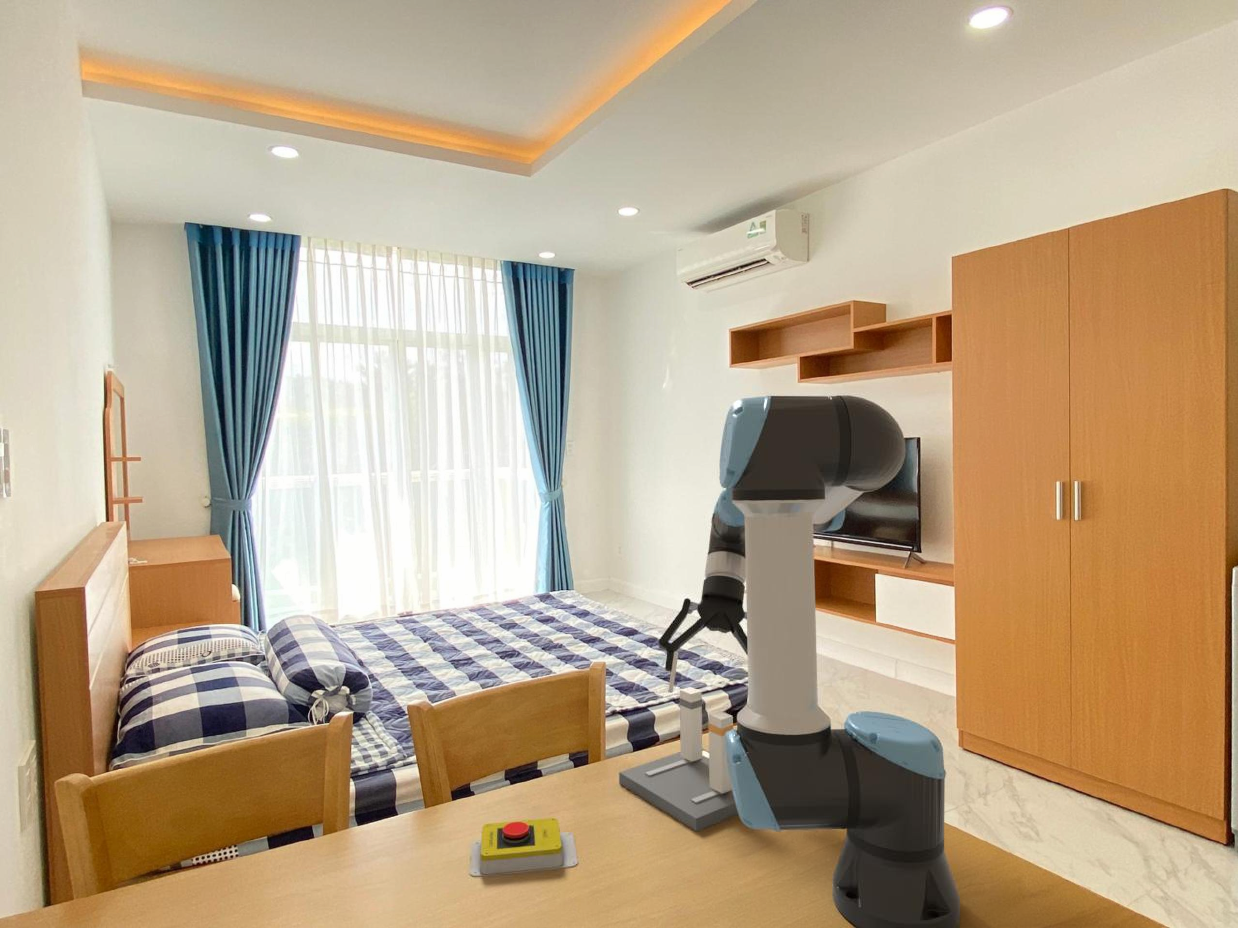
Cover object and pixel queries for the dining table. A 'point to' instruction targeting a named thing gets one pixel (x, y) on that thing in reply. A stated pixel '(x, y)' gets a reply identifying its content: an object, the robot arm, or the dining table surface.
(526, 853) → the emergency button
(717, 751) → the block
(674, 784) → the panel
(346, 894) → the dining table surface
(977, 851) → the dining table surface
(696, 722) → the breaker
